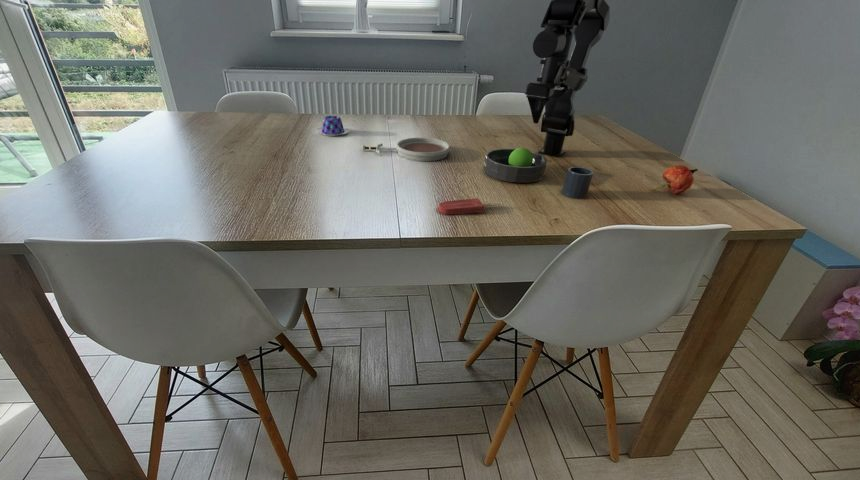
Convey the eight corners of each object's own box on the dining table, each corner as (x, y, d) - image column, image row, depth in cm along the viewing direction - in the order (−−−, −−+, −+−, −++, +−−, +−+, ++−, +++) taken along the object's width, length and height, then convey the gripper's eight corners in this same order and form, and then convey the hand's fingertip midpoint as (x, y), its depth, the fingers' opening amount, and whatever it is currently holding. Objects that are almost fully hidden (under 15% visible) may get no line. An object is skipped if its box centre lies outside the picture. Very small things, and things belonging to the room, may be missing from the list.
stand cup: (565, 187, 105) (572, 165, 102) (589, 193, 103) (596, 170, 99) (558, 194, 102) (564, 171, 98) (582, 200, 99) (589, 176, 95)
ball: (514, 170, 117) (528, 150, 115) (527, 179, 112) (542, 158, 110) (499, 161, 114) (513, 140, 111) (512, 169, 109) (527, 148, 106)
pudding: (348, 137, 140) (347, 121, 137) (313, 136, 140) (312, 121, 137) (351, 128, 150) (350, 113, 147) (318, 127, 150) (317, 112, 147)
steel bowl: (498, 160, 123) (500, 145, 120) (551, 172, 115) (555, 156, 112) (473, 174, 112) (475, 158, 110) (529, 189, 104) (533, 172, 102)
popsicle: (505, 204, 92) (442, 209, 90) (504, 211, 93) (441, 216, 91) (497, 196, 95) (436, 201, 93) (496, 203, 96) (435, 208, 94)
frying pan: (364, 135, 134) (449, 137, 132) (364, 144, 136) (448, 146, 134) (356, 151, 120) (452, 153, 118) (357, 161, 122) (451, 163, 120)
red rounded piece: (660, 205, 102) (707, 187, 97) (649, 179, 101) (696, 159, 96) (656, 198, 108) (700, 180, 103) (645, 173, 107) (689, 154, 102)
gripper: (578, 61, 92) (560, 132, 101) (599, 54, 104) (582, 118, 113) (530, 57, 97) (517, 124, 106) (556, 51, 110) (543, 112, 119)
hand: (541, 120), depth 111 cm, fingers open, 9 cm apart
